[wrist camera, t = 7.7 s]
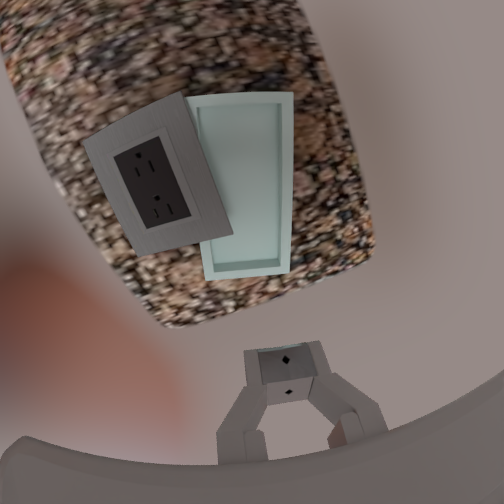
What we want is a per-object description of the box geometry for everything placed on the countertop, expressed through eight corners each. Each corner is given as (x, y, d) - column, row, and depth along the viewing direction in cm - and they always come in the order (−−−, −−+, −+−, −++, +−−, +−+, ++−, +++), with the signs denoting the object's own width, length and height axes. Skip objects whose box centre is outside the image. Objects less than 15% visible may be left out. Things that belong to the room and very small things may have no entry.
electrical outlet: (94, 136, 22) (80, 142, 20) (188, 90, 20) (178, 91, 18) (145, 246, 29) (137, 258, 27) (236, 223, 26) (232, 236, 24)
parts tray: (186, 97, 21) (183, 97, 19) (287, 92, 22) (293, 92, 20) (206, 269, 31) (205, 280, 29) (285, 262, 32) (289, 272, 30)
